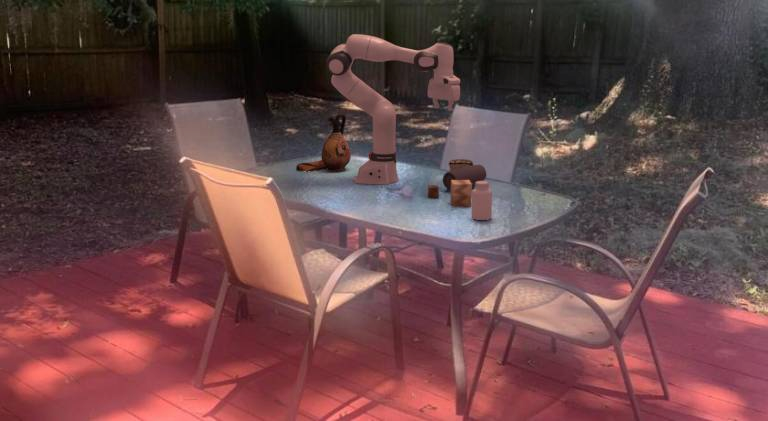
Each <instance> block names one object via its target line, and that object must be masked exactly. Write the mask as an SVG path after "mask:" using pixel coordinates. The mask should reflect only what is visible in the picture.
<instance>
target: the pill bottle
mask: <svg viewBox="0 0 768 421" xmlns="http://www.w3.org/2000/svg"><path fill="white" fill-rule="evenodd" d="M489 184H490V182H488V181H487V180H483V181H477V182H476V183H475V184H474V185H475V188H474V189H472V196H471V219H472V218H473V219H472V220H474V219H476V220H475V221H477V220H487V221H490V220H491V219H492V211H493V209H492V208H493V205H492V203H493V191H492V190H491V189H490V185H489ZM489 219H490V220H489Z"/></svg>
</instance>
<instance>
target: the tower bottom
mask: <svg viewBox="0 0 768 421" xmlns="http://www.w3.org/2000/svg"><path fill="white" fill-rule="evenodd" d="M450 203H451V207H452V206H454V207H453V208H455V206H456V208H457V206H458V207H461V208H462V207H465V208H466V207H471V208H472V196H453V195H452V193H451V192H450Z"/></svg>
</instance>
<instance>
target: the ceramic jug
mask: <svg viewBox="0 0 768 421" xmlns="http://www.w3.org/2000/svg"><path fill="white" fill-rule="evenodd" d="M340 118H341V122H340ZM346 118H347V117H346V115H345V114H344V113H337V114H336V115H335V117H330V116H329V117H328V118H327V119H326V122H325V123H326V125H328V126H330V127H333V129H332V130H331V133H330V134H329V136H328V137H327V138H326V141H325V142H324V144H323V146H322V150H321V160H322V161H323V163H324V165H325V166H326V167H327V172H333V173H334V172H335V173H340V172H344V171H345V168H346V167H347V166H348V164H350V161H351V157H352V156H351V150H350V146H349V144H348V141H347V139H346V138H345V137H344V130H345V125H346V121H347V119H346Z"/></svg>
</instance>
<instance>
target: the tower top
mask: <svg viewBox="0 0 768 421" xmlns="http://www.w3.org/2000/svg"><path fill="white" fill-rule="evenodd" d="M472 188H473V187H472V184H471V182H470V180H451V190H450V194H451V193H452V195H453V196H471V197H472V191H473V189H472Z"/></svg>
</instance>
